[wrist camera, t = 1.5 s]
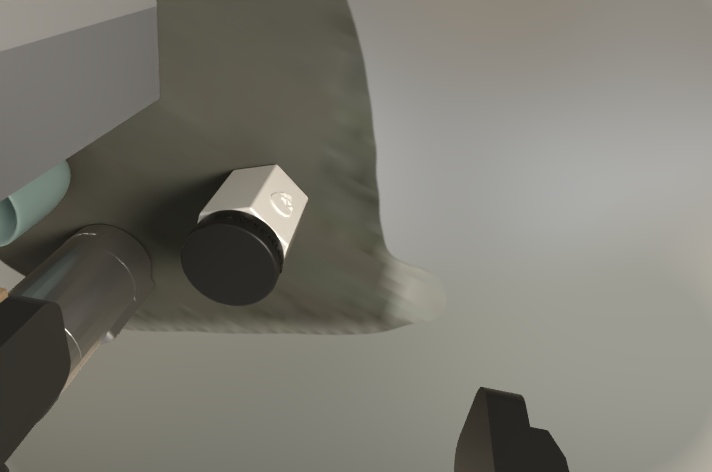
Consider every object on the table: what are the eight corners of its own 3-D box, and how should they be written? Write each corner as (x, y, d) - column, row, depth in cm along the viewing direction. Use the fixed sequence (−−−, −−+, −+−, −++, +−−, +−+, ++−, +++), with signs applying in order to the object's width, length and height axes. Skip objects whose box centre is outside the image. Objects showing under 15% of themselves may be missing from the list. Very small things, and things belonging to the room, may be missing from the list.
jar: (325, 211, 53) (301, 279, 43) (268, 252, 56) (234, 325, 46) (262, 145, 50) (221, 200, 40) (207, 192, 53) (156, 255, 43)
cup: (1, 173, 55) (-77, 219, 46) (17, 112, 51) (-64, 149, 42) (72, 211, 56) (9, 262, 48) (92, 154, 53) (29, 198, 44)
